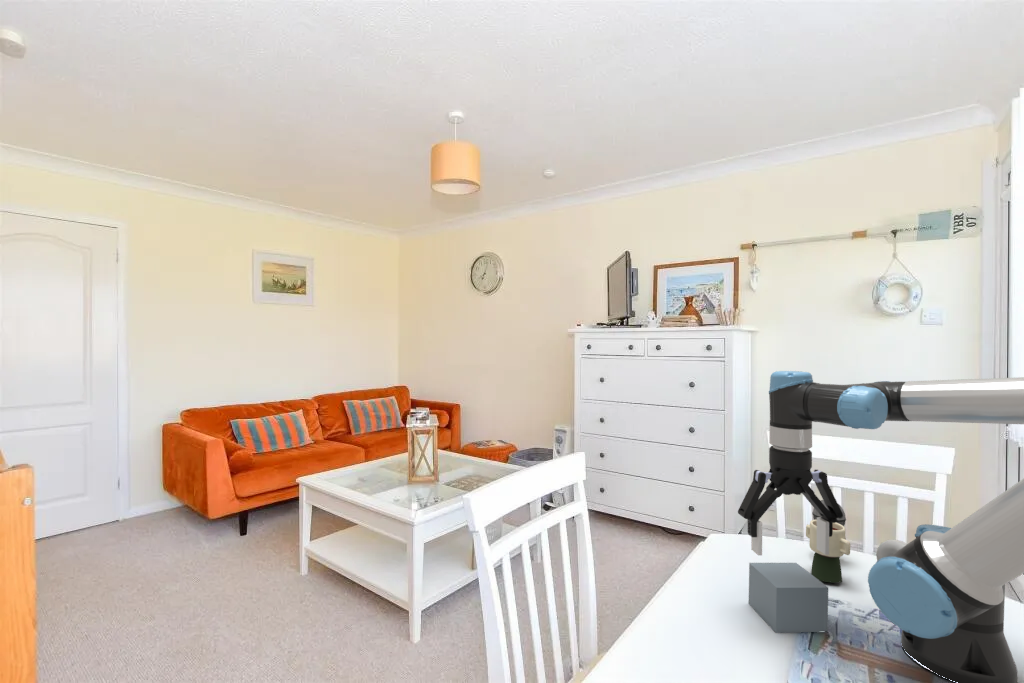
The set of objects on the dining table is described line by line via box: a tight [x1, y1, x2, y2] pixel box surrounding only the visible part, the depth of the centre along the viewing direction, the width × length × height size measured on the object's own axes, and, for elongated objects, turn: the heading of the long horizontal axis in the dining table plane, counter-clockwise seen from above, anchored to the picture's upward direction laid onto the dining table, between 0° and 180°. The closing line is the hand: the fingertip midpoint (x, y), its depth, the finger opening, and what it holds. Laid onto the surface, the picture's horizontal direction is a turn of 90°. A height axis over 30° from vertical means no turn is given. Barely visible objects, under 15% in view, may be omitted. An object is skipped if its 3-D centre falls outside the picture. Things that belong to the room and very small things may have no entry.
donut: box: [876, 539, 908, 562], centre depth 113 cm, size 10×3×10 cm, turn 18°
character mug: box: [805, 519, 851, 583], centre depth 115 cm, size 11×7×13 cm, turn 19°
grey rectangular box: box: [748, 562, 829, 634], centre depth 99 cm, size 10×10×9 cm
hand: (789, 552), depth 98 cm, fingers open, 13 cm apart
